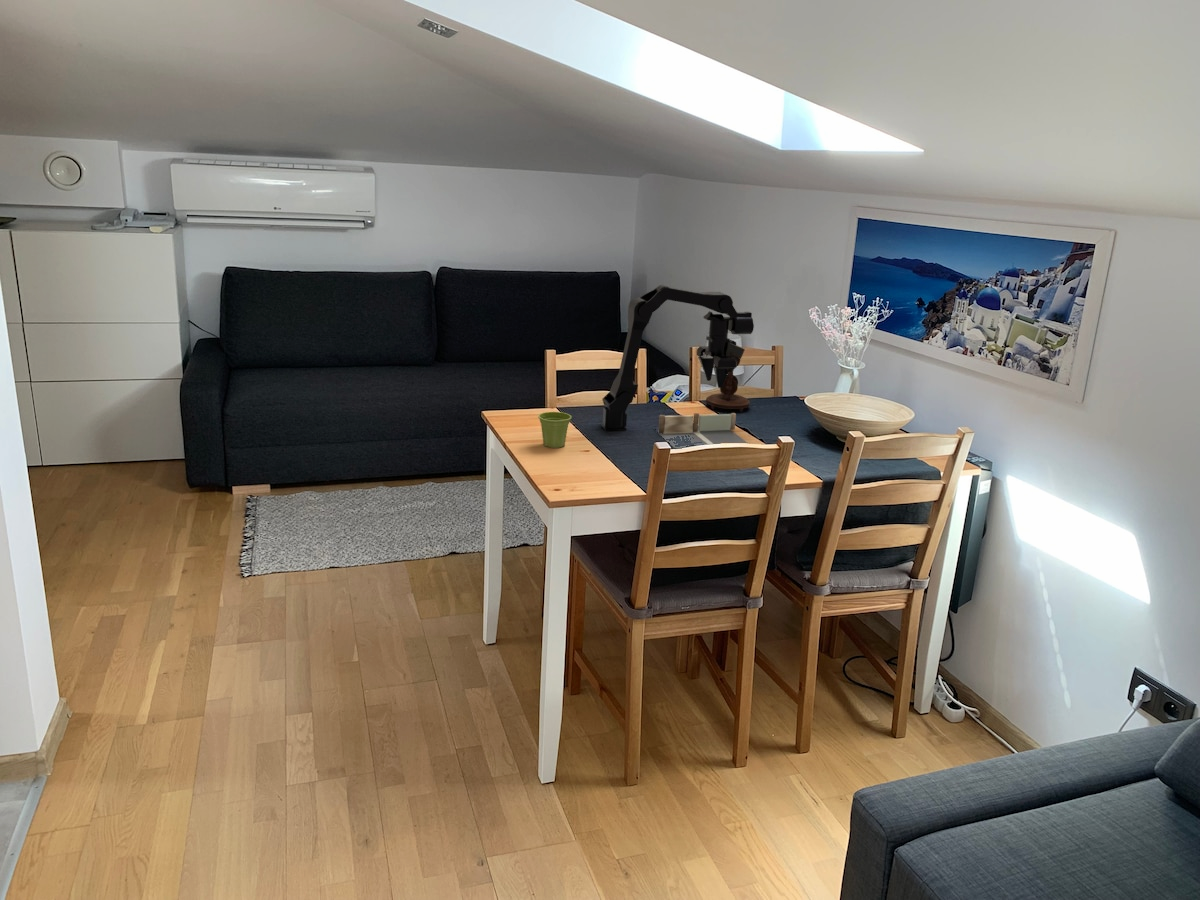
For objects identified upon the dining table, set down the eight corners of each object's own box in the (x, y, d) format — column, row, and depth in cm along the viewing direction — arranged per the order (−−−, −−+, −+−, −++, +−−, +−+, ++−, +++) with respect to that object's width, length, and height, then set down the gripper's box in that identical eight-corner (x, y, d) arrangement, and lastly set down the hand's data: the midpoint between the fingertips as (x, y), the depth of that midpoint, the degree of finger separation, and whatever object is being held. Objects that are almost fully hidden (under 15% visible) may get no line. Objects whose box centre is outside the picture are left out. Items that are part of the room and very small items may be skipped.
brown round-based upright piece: (706, 400, 322) (711, 343, 316) (749, 404, 320) (755, 347, 314) (704, 411, 309) (709, 352, 302) (749, 415, 307) (755, 355, 300)
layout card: (675, 449, 267) (675, 448, 267) (652, 428, 286) (652, 427, 286) (751, 446, 273) (751, 445, 273) (724, 426, 292) (724, 425, 292)
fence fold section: (699, 431, 283) (701, 415, 282) (697, 429, 285) (699, 413, 283) (735, 429, 286) (736, 414, 285) (733, 428, 288) (734, 412, 286)
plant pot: (541, 451, 259) (542, 421, 256) (534, 440, 267) (535, 411, 265) (573, 449, 262) (575, 420, 259) (565, 439, 270) (566, 411, 267)
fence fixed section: (659, 433, 280) (660, 415, 278) (657, 432, 282) (658, 414, 280) (698, 432, 283) (699, 414, 282) (696, 430, 285) (697, 413, 283)
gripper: (755, 340, 276) (750, 390, 281) (730, 328, 293) (726, 376, 298) (720, 340, 273) (716, 391, 278) (697, 328, 290) (694, 377, 295)
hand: (714, 384), depth 288 cm, fingers open, 9 cm apart
